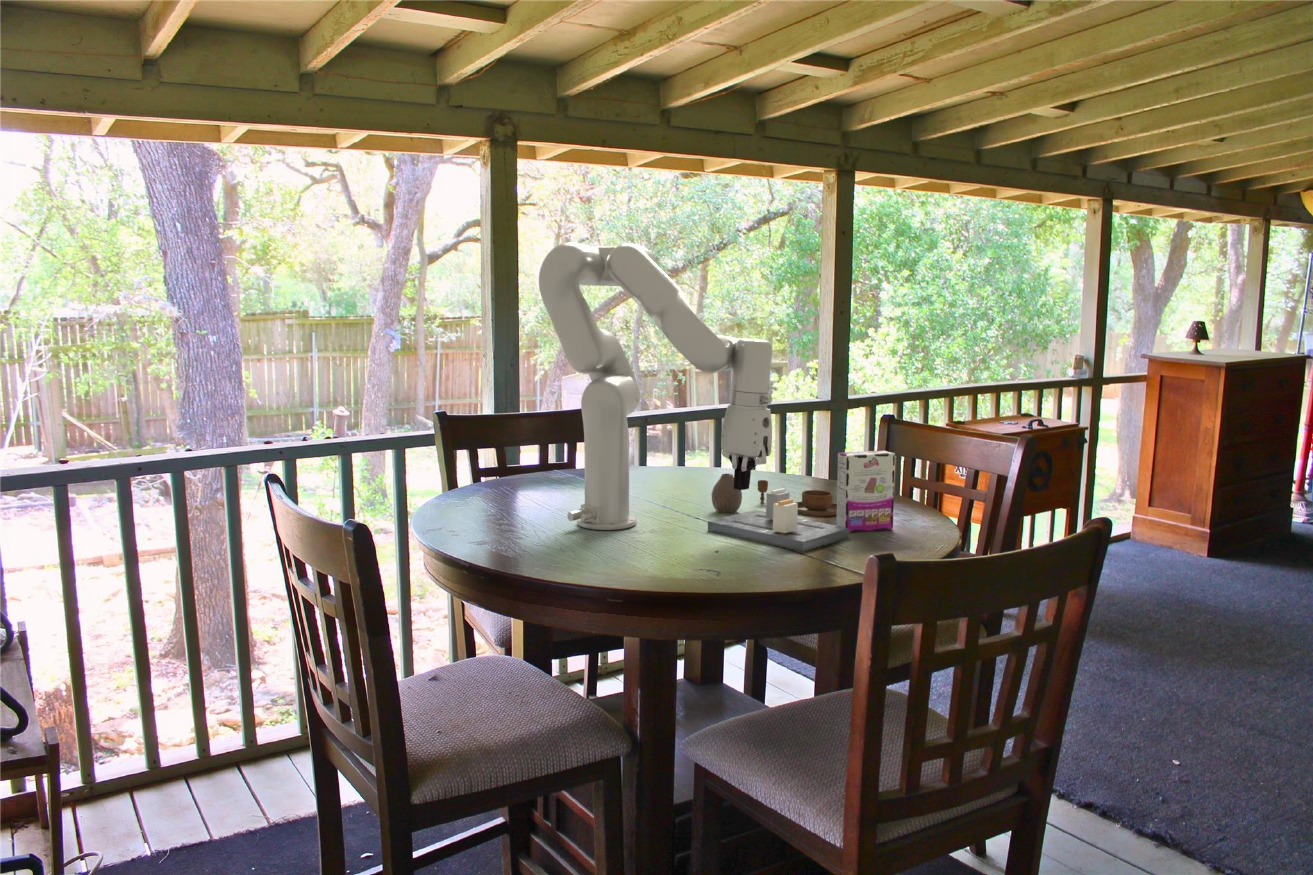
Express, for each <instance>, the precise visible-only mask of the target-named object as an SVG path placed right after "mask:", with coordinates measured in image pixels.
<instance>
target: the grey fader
mask: <svg viewBox="0 0 1313 875" xmlns="http://www.w3.org/2000/svg"><path fill="white" fill-rule="evenodd" d="M790 494H791V492H788V491H786V488H783V487H782V488H778V489H774V490H770V492H766V498H765V499H766V500H765V502H766V503H765V504H766V505H765V506H766V508H765V512H766V518H767V519H772V520H773V504H775V503H778V502H779V501H783V500H787V499H790V496H791V495H790Z"/></svg>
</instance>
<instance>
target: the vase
mask: <svg viewBox="0 0 1313 875" xmlns="http://www.w3.org/2000/svg"><path fill="white" fill-rule="evenodd" d="M733 486H734V474H733V473H722V474H721V475H720V478H719V479H718V480H717V482H716V483H715V484H714V486H713V488H712V491H711V503H712V506H713V508H714V509H715V510H716V512H717V513H719V514H724V515H725V514H726V515H728V514H730V515H731V514H732V515H733V514H735V513H736V512H737V511H738V510H739V509H740V507H741V506H742V500H743V493H742V490H738V489H734V488H733Z"/></svg>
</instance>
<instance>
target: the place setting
mask: <svg viewBox="0 0 1313 875" xmlns="http://www.w3.org/2000/svg"><path fill="white" fill-rule="evenodd" d="M768 489H769V480H765V479H760V480H757V491H758V492H759V493H760V496H759V497H760V498H759V500H760V501H759V504H762V505H763V504H765V499H766V498H765V493H767V491H768ZM833 494H834V493H833V492H830V491H827V490H819V489H818V490H817V489H815V490H814V489H811V490H804V491H802V492H801V500H800V501H796V502H795V501H794V503H798V514H797V515H802V516H806V515H808V517H818V516H826V517H834V515H835V516H837V503H835V502H833V497H834V496H833ZM801 508H806V510H805V509H801ZM831 508H833V509H832V510H831V511H830V510H829V511H828V509H831Z"/></svg>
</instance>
